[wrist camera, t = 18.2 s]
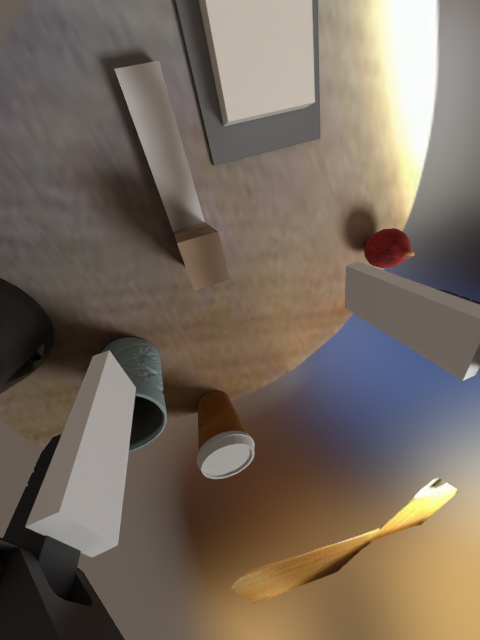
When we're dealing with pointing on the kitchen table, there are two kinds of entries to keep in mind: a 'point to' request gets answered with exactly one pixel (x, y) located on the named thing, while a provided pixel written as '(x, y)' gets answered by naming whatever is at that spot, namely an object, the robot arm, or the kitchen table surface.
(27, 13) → the kitchen table surface
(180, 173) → the tan l-shaped piece
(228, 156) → the mat
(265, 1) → the tile
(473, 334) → the robot arm
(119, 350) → the grey-green hollow open cylinder
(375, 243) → the onion
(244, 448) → the disposable coffee cup
